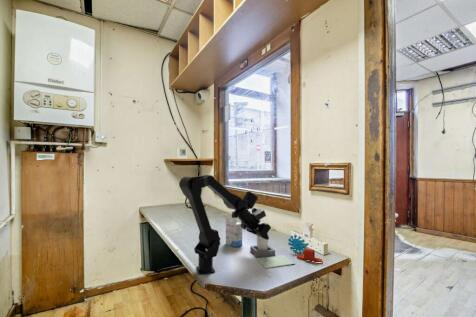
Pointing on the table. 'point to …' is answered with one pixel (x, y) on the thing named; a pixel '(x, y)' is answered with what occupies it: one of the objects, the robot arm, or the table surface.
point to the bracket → (309, 255)
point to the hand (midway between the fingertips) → (264, 237)
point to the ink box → (233, 232)
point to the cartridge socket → (262, 252)
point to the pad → (274, 261)
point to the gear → (297, 244)
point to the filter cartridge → (262, 242)
